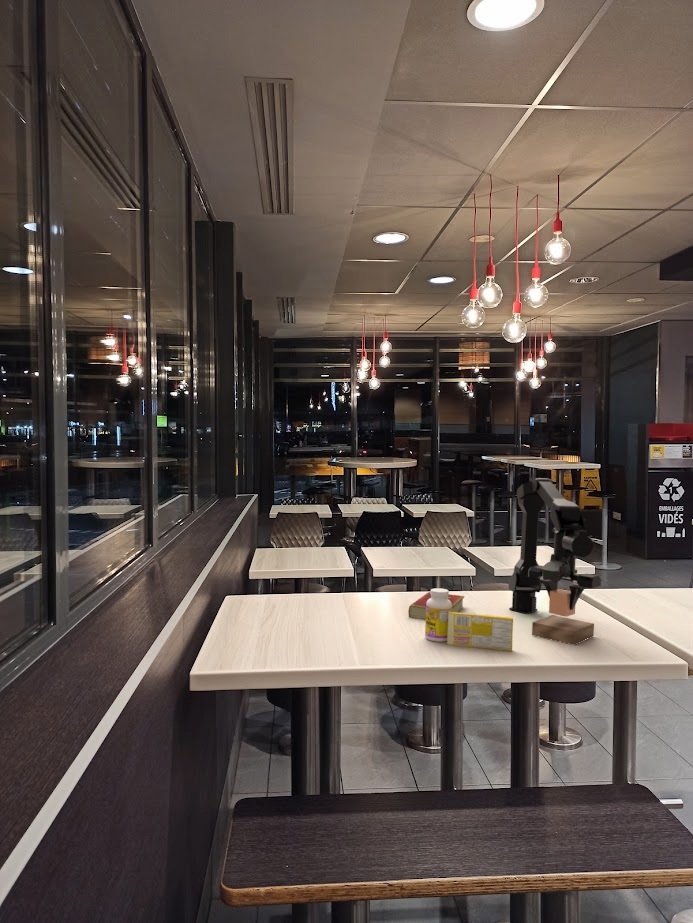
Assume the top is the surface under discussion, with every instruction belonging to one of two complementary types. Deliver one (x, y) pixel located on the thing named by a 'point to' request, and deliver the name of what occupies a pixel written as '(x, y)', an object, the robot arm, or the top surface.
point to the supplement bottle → (437, 615)
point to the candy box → (480, 631)
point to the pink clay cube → (560, 603)
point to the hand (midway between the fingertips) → (562, 607)
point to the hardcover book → (420, 605)
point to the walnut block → (563, 629)
